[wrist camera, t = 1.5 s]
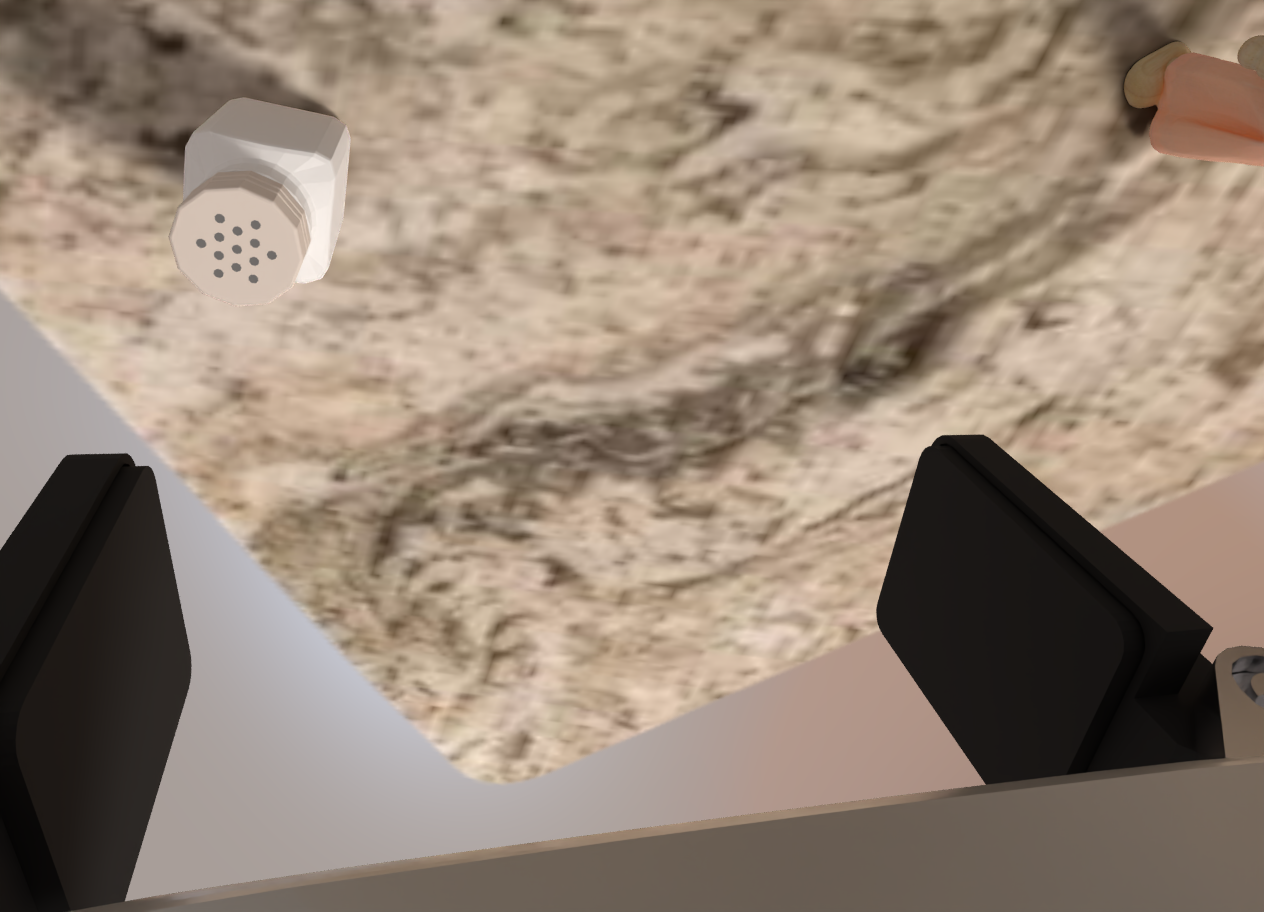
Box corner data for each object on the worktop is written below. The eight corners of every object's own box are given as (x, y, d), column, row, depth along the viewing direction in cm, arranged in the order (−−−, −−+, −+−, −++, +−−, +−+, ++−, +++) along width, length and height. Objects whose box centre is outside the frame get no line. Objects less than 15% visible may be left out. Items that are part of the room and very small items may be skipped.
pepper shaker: (224, 208, 31) (151, 308, 23) (227, 89, 29) (149, 153, 21) (343, 230, 32) (313, 332, 24) (353, 117, 30) (325, 187, 22)
